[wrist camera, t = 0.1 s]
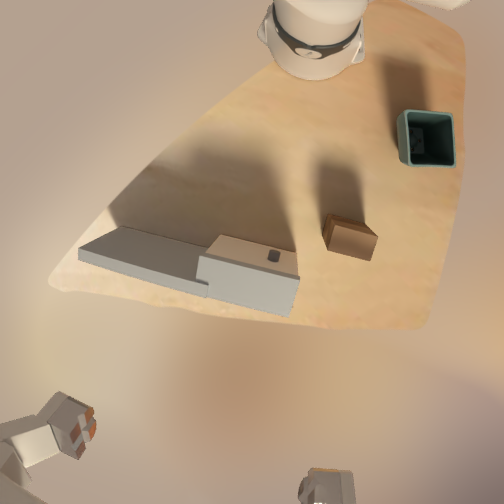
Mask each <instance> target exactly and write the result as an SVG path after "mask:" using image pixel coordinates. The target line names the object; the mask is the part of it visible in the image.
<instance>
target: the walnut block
mask: <svg viewBox="0 0 504 504" xmlns="http://www.w3.org/2000/svg"><path fill="white" fill-rule="evenodd" d="M322 237H323V239H324V242H325V245H326V247H327V250H328V251H332V252H336V253H340V254H344V255H348V256H351V257H355V258H359V259H363V260H367V261H370V260H371V257H372V254H373V251H374V248H375V245H376V242H377V239H378V236H377V235H376V234H375V233H374V232H373V231H372V230H371V229H370V228H369V227H368V226H367V225H366V224H364V223H360V222H357V221H353V220H349V219H346V218H342V217H339V216H335V215H331V214H328V216H327V219H326V223H325V226H324V230H323V233H322Z"/></svg>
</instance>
